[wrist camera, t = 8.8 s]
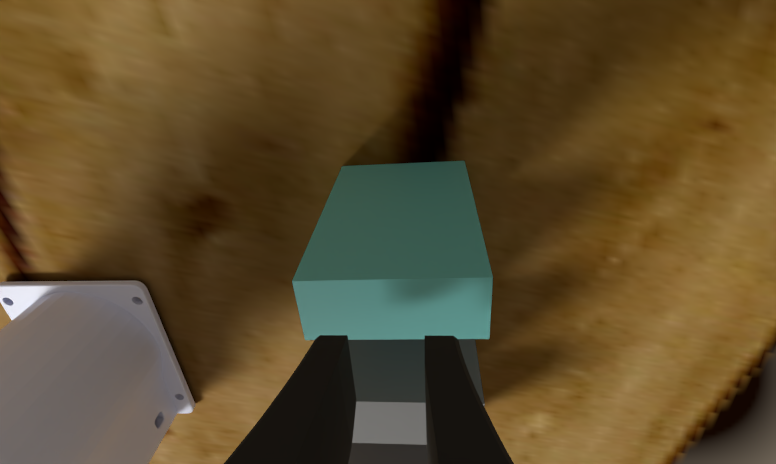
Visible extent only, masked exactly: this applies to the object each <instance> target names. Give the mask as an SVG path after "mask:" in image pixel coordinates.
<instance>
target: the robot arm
mask: <svg viewBox="0 0 776 464" xmlns="http://www.w3.org/2000/svg"><path fill="white" fill-rule="evenodd" d="M138 297H139V298H140V299H139V298H138ZM0 302H1V304H2V306H3V307H4V309H5V310H6V312H7V313H8V315H9V317H10V318H11V320H12V321H11V322H10V323H8V324H7V325H6V326H5V327H4V328H2V329H1V330H0V464H149V462H150V460H151V458H152V457H153V455H154V453H155V451H156V450H157V448H158V446H159V444H160V443H161V441H162V439H163V437H164V435H165V434H166V432H167V430H168V428H169V427H170V425H171V423H172V421H173V420H174V418H175V416H176V414H177V413H191V412H192V411H193V409H194V407H195V402H194V400H193V397H192V395H191V392H190V390H189V388H188V385H187V383H186V380H185V378H184V376H183V373H182V371H181V368H180V366H179V364H178V361H177V359H176V356H175V354H174V352H173V349H172V347H171V344H170V342H169V340H168V337H167V335H166V332H165V330H164V328H163V325H162V323H161V320H160V318H159V316H158V313H157V311H156V308H155V306H154V303H153V301H152V299H151V296H150V294H149V291H148V289H147V287H146V286H145V285H144V284H143V283H142V282H139V281H134V280H132V281H21V282H1V283H0ZM425 399H426V438H427V456H428V464H514V463H513V462H512V460H511V458H510V456H509V454H508V453H507V451H506V449H505V447H504V445H503V443H502V442H501V440H500V438H499V436H498V434H497V432H496V430H495V428H494V426H493V424H492V422H491V420H490V418H489V416H488V414H487V412H486V410H485V408H484V406H483V404H482V402H481V399H480V397H479V395H478V393H477V391H476V388H475V386H474V384H473V381H472V379H471V376H470V374H469V371H468V369H467V366H466V363H465V361H464V358H463V354H462V351H461V348H460V344H459V340H458V339H457V338H456V337H455V336H425ZM356 400H357V399H356V392H355V385H354V378H353V371H352V364H351V357H350V350H349V343H348V336H347V335H320V336H319V337H317V338H316V339H315V341H314V342H313V344H312V346H311V347H310V349H309V350H308V352H307V353H306V355H305V356H304V358H303V360H302V361H301V363H300V364H299V366H298V367H297V368H296V370H295V371H294V373H293V374H292V376H291V377H290V379H289V380H288V382H287V383H286V384H285V386H284V387H283V389H282V390H281V391H280V393H279V394H278V395H277V397H276V398H275V400H274V401H273V402H272V404H271V405H270V406H269V408H268V409H267V410H266V412H265V413H264V414H263V416H262V417H261V418H260V420H259V421H258V422H257V424H256V425H255V426H254V427H253V429H252V430H251V431H250V432H249V434H248V435H247V436H246V437H245V439H244V440H243V441H242V442H241V443H240V445H239V446H238V447H237V448H236V450H235V451H234V452H233V453H232V455H231V456H230V457H229V458H228V459H227V461H226V462H225V463H224V464H348V462H349V458H350V453H351V448H352V439H353V430H354V421H355V410H356Z"/></svg>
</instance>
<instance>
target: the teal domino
mask: <svg viewBox="0 0 776 464" xmlns="http://www.w3.org/2000/svg"><path fill="white" fill-rule="evenodd" d="M292 284H293V288H294V293H295V297H296V302H297V306H298V310H299V315H300V319H301V324H302V328H303V333H304V337H305V340H315V339H316V338H317V337H319V336H320V335H347V336H348V340H393V339H425V336H455V337H456V338H457V339H489V338H490V321H491V303H492V286H493V275H492V271H491V267H490V263H489V259H488V255H487V251H486V247H485V242H484V238H483V234H482V230H481V226H480V222H479V218H478V214H477V209H476V205H475V201H474V197H473V193H472V189H471V185H470V181H469V177H468V172H467V168H466V164H465V161H446V162H423V163H401V164H378V165H355V166H342V168H341V170H340V172H339V175H338V177H337V179H336V182H335V184H334V186H333V188H332V191H331V193H330V195H329V198H328V200H327V202H326V204H325V207H324V209H323V211H322V214H321V216H320V218H319V220H318V223H317V225H316V227H315V230H314V232H313V234H312V236H311V239H310V241H309V243H308V246H307V248H306V250H305V252H304V255H303V257H302V259H301V262H300V264H299V266H298V268H297V271H296V273H295V275H294V278H293V280H292Z"/></svg>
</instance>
